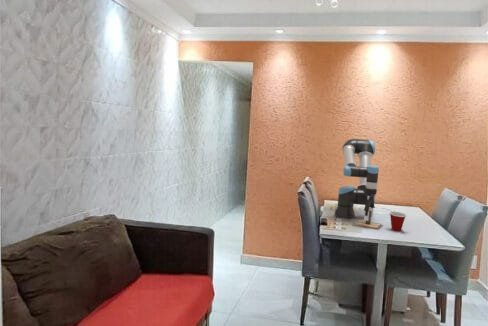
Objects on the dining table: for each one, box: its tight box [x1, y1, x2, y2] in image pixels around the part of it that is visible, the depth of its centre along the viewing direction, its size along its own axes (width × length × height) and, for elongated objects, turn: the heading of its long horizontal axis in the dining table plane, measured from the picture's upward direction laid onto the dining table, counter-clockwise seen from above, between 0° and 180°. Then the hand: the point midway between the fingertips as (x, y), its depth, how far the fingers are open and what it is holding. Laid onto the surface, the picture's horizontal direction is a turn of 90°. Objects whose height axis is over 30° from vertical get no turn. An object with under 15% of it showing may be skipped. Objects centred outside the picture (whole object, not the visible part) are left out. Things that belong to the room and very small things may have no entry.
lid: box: [353, 211, 382, 230], centre depth 291 cm, size 15×15×10 cm
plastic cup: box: [389, 211, 407, 232], centre depth 282 cm, size 11×11×12 cm
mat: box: [351, 220, 384, 231], centre depth 292 cm, size 18×18×1 cm
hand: (368, 218), depth 291 cm, fingers open, 13 cm apart
